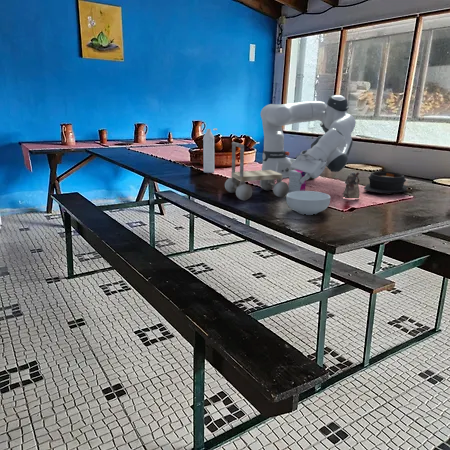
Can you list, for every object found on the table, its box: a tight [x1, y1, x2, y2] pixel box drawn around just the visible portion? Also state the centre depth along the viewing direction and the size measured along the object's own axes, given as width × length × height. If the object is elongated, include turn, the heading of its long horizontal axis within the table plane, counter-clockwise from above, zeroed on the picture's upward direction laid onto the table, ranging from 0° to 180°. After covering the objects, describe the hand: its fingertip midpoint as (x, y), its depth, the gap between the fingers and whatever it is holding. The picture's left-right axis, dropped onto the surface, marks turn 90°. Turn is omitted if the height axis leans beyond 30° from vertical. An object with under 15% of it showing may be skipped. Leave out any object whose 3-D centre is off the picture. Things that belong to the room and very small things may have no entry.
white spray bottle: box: [202, 128, 218, 174], centre depth 238 cm, size 9×6×25 cm
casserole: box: [363, 171, 408, 194], centre depth 196 cm, size 25×19×8 cm
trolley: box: [224, 141, 289, 201], centre depth 185 cm, size 25×16×24 cm, turn 110°
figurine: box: [342, 171, 360, 199], centre depth 181 cm, size 7×7×12 cm
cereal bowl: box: [285, 190, 331, 216], centre depth 160 cm, size 17×17×7 cm
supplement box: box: [287, 170, 307, 194], centre depth 185 cm, size 6×6×12 cm
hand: (295, 180), depth 184 cm, fingers closed on supplement box, 7 cm apart
